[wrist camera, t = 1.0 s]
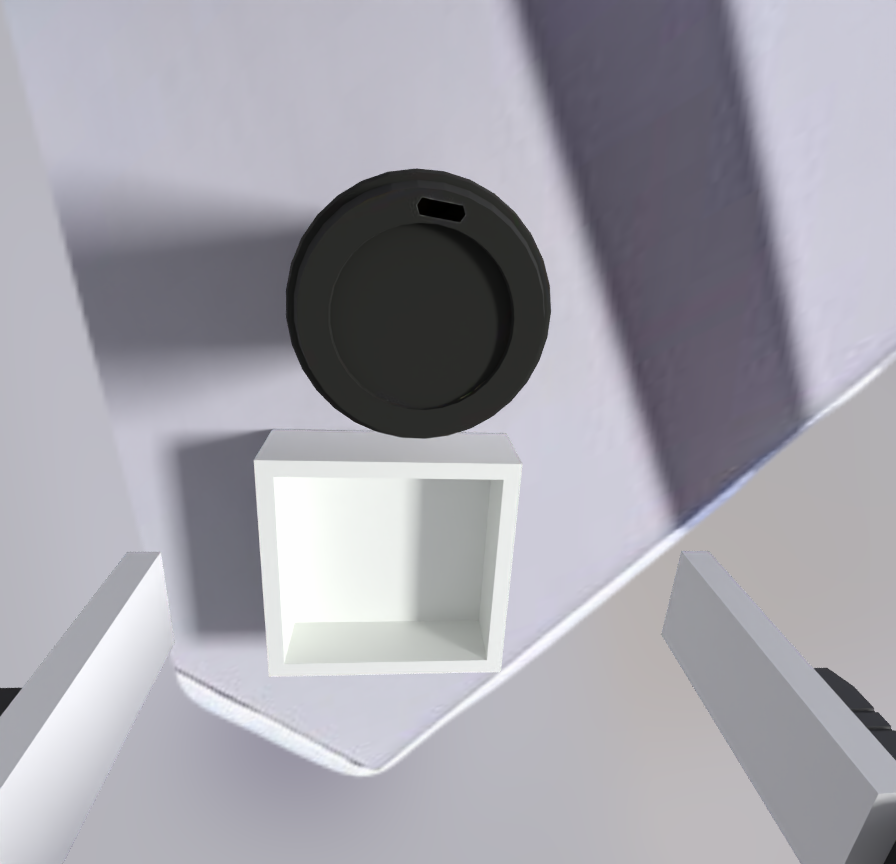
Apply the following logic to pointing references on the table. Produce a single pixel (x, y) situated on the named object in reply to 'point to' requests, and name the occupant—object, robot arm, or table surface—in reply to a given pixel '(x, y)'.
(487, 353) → the coffee cup
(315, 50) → the table surface
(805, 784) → the robot arm
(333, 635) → the bin
